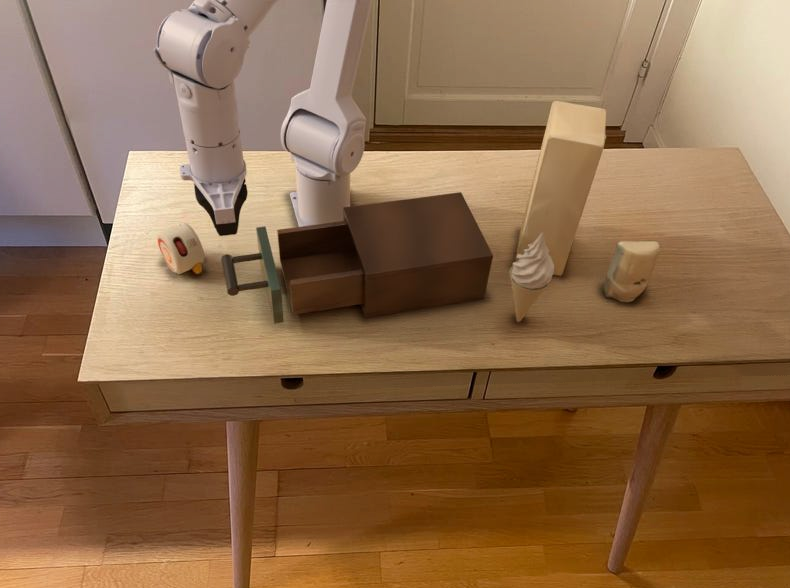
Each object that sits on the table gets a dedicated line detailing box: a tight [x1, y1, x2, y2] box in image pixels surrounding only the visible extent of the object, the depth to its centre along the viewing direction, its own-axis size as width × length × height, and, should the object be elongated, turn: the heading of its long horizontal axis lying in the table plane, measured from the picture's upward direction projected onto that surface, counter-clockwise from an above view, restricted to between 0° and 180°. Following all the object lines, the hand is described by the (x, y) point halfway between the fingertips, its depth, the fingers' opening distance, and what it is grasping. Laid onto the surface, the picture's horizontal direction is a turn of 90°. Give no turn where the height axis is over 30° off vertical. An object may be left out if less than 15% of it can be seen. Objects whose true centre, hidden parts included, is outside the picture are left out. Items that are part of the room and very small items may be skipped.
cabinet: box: [343, 191, 494, 318], centre depth 98 cm, size 16×13×8 cm
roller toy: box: [156, 222, 206, 275], centre depth 97 cm, size 4×6×6 cm
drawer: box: [220, 221, 365, 324], centre depth 95 cm, size 20×11×6 cm, turn 106°
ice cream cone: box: [508, 232, 554, 323], centre depth 91 cm, size 5×5×15 cm
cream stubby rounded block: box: [602, 240, 662, 303], centre depth 98 cm, size 6×5×8 cm
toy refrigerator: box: [514, 100, 607, 277], centre depth 97 cm, size 8×7×21 cm
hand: (227, 231), depth 89 cm, fingers closed
